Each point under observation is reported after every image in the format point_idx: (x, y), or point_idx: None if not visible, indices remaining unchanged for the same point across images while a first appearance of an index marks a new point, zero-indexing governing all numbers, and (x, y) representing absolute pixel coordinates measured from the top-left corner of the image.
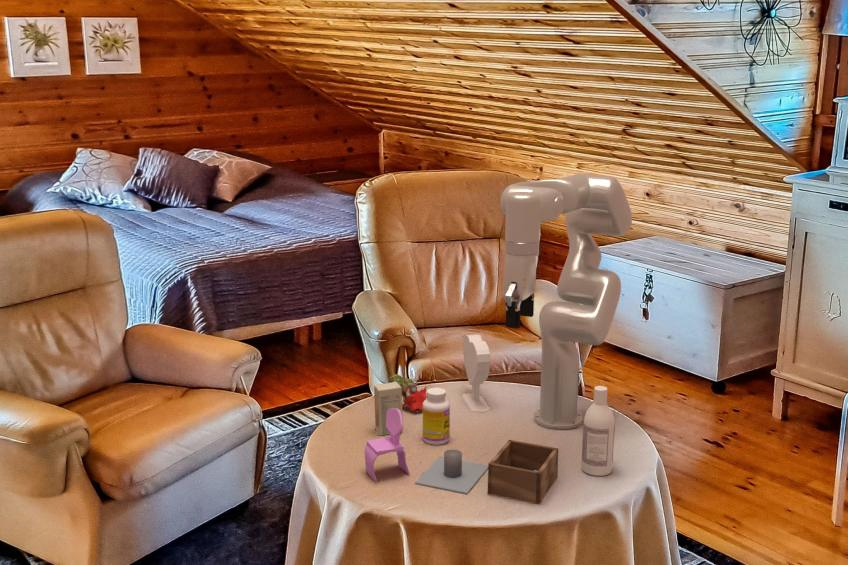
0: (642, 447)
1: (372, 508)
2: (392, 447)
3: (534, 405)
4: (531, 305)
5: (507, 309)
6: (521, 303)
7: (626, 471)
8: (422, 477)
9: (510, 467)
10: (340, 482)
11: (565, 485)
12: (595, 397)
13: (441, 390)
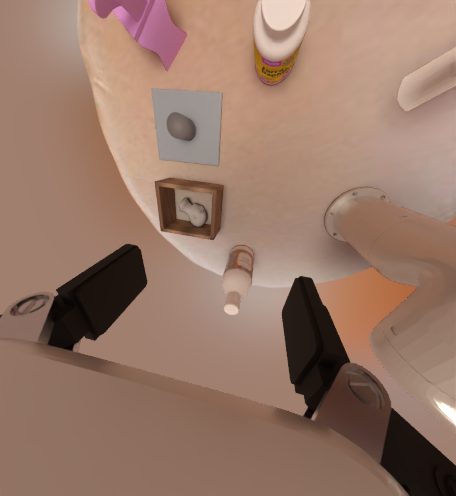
0: (291, 283)
1: (86, 60)
2: (123, 16)
3: (414, 179)
4: (289, 356)
5: (29, 305)
6: (308, 329)
7: None
8: (165, 93)
9: (159, 204)
10: None
11: None
12: (227, 297)
13: (290, 11)
